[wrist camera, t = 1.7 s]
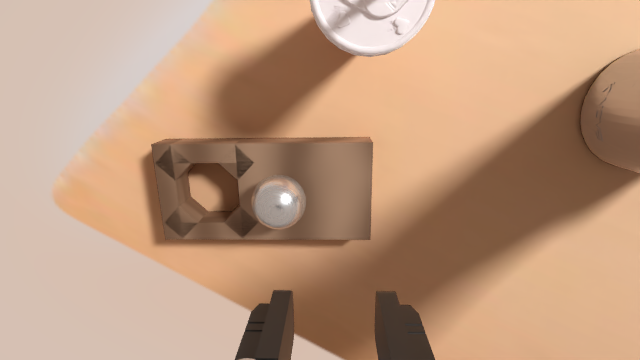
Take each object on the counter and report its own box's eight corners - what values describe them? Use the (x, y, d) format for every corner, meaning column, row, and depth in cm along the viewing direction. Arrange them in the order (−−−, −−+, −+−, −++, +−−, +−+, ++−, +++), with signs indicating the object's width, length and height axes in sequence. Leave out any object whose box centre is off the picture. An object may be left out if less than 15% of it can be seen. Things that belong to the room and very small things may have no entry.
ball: (307, 168, 27) (303, 183, 24) (308, 216, 28) (304, 238, 25) (255, 169, 28) (243, 184, 24) (259, 216, 29) (247, 238, 25)
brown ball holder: (369, 137, 29) (372, 142, 27) (367, 227, 31) (370, 239, 29) (165, 139, 30) (151, 144, 27) (178, 227, 32) (165, 239, 30)
